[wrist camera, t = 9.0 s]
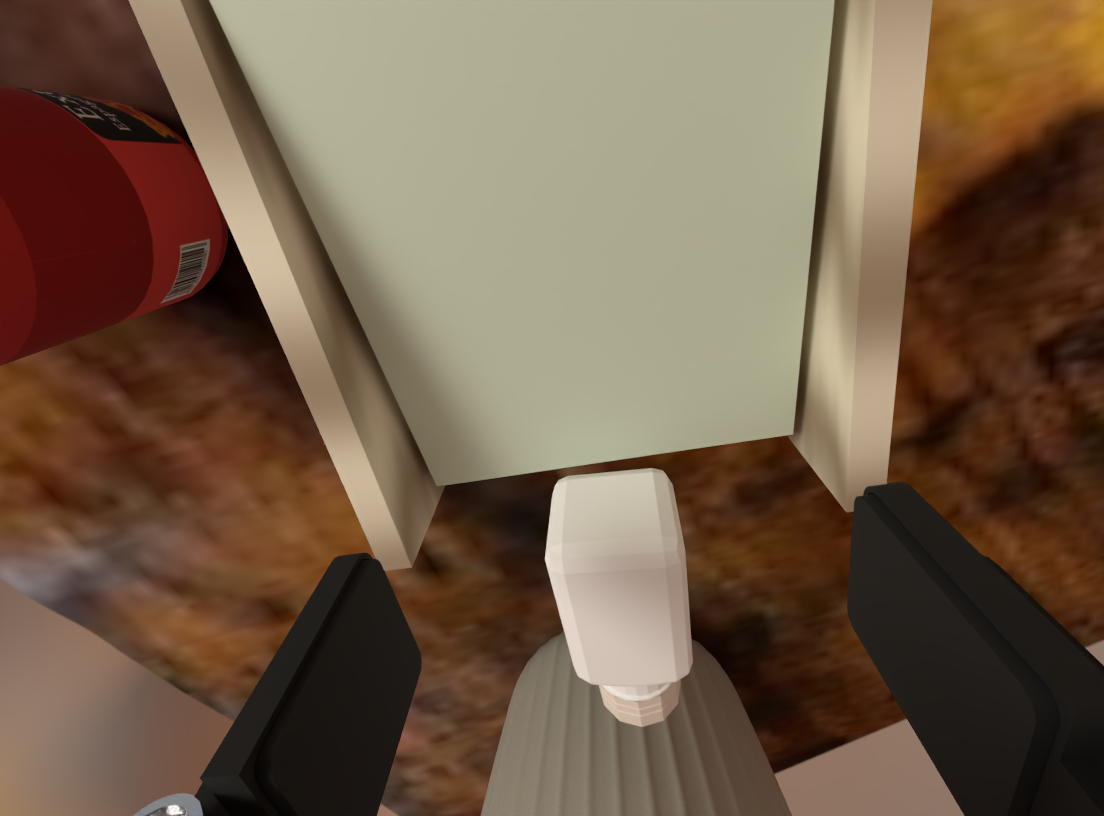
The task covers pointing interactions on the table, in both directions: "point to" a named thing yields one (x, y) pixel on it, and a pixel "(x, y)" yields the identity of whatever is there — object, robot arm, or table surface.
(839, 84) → the stand
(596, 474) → the pepper shaker
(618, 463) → the table surface
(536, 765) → the canister
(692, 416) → the trapdoor
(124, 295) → the canned food
